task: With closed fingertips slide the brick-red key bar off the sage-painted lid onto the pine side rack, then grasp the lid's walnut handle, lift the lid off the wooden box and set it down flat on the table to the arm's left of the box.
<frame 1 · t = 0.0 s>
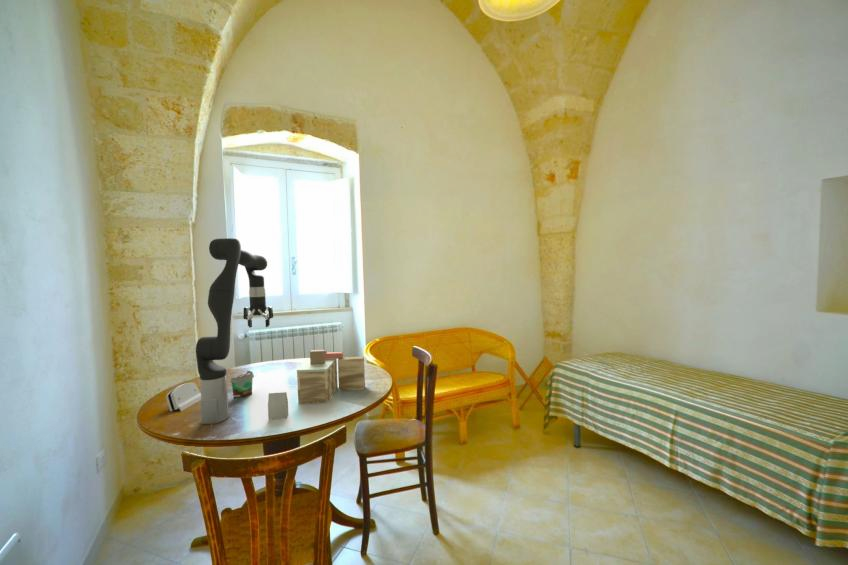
hand: (258, 327, 194), 29 cm above the table, fingers open, 8 cm apart
wooden box: (319, 395, 175), on the table
key bar: (330, 354, 182), point 17 cm above the table, slide at 0.0 cm
lid: (317, 365, 175), point 14 cm above the table, touching wooden box
hinge: (185, 404, 168), on the table
tea box: (278, 417, 151), on the table
food container: (246, 395, 178), on the table
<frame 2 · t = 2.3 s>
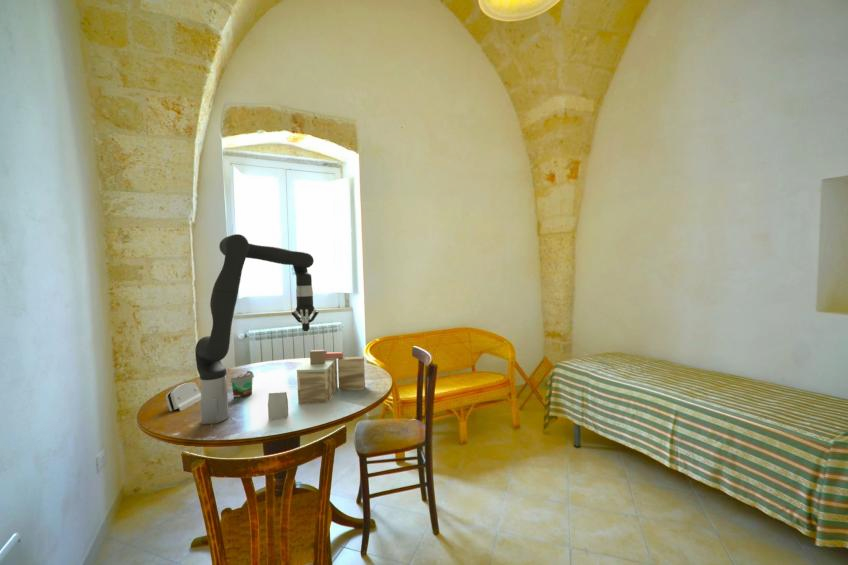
hand: (306, 330, 181), 29 cm above the table, fingers closed
nothing on the table moved.
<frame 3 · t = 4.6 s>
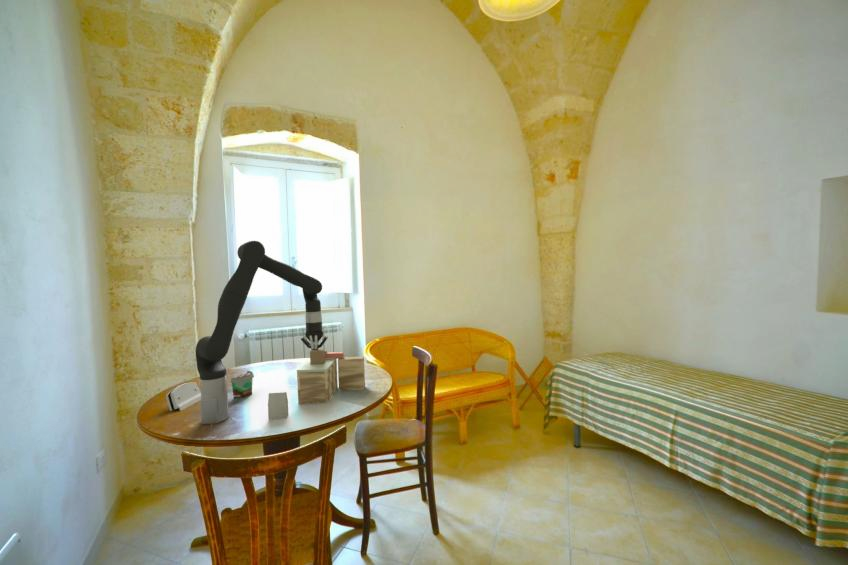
hand: (315, 356, 182), 16 cm above the table, fingers closed
key bar: (330, 354, 182), point 17 cm above the table, slide at 0.4 cm, touching gripper
everything else where it was.
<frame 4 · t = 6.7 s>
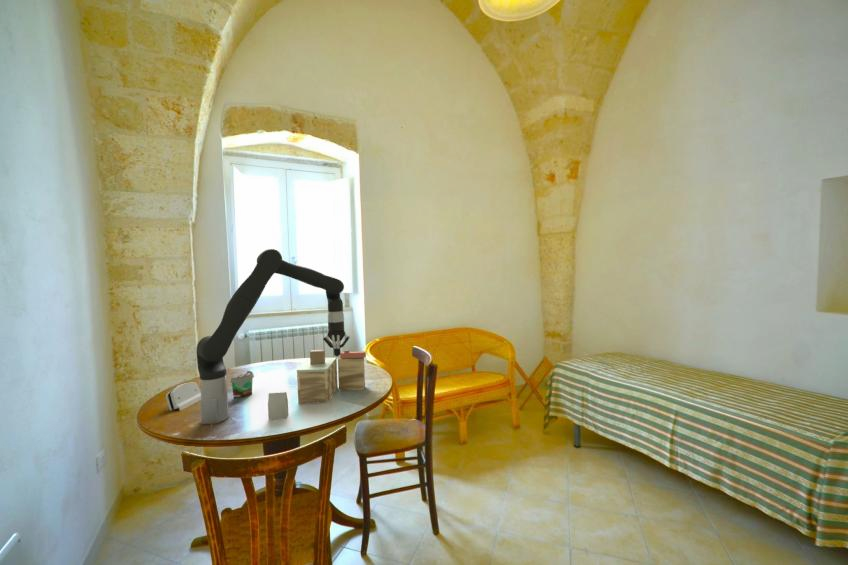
hand: (337, 355, 182), 16 cm above the table, fingers closed
key bar: (353, 353, 182), point 17 cm above the table, slide at 11.1 cm, touching gripper
everything else where it was.
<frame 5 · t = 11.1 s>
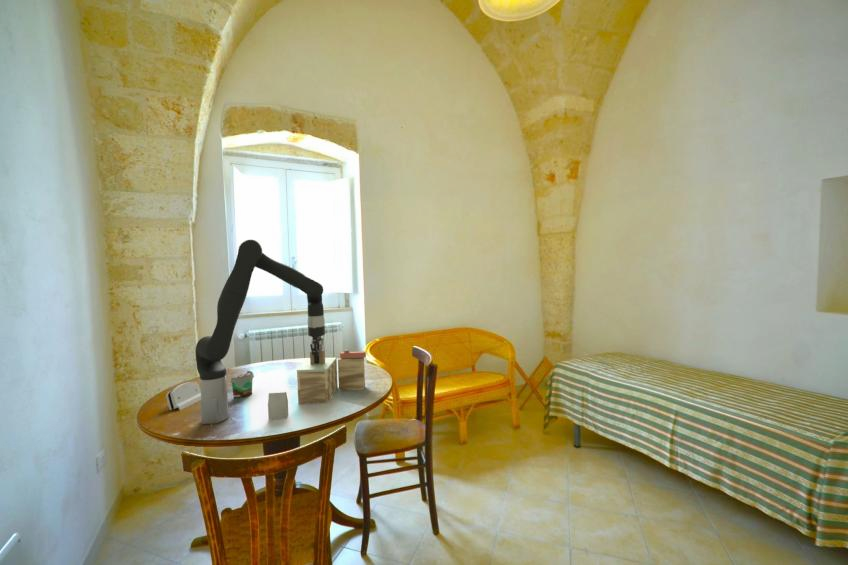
hand: (317, 362, 174), 16 cm above the table, fingers closed on lid, 3 cm apart
key bar: (353, 353, 182), point 17 cm above the table, slide at 11.1 cm
lid: (317, 365, 175), point 14 cm above the table, touching gripper, wooden box
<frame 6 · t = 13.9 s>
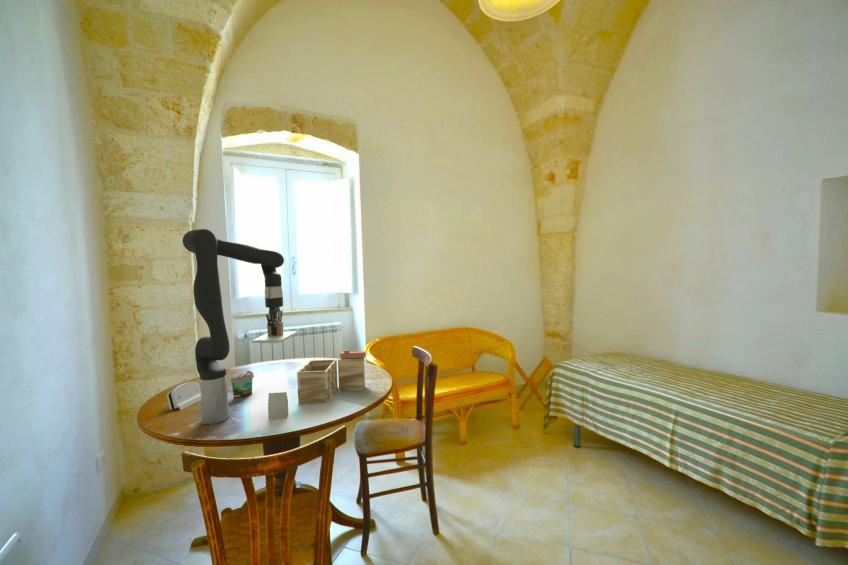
hand: (275, 334, 171), 30 cm above the table, fingers closed on lid, 3 cm apart
lid: (275, 337, 171), point 28 cm above the table, touching gripper
when the fingers open (4 cm above the table, at t = 17.0 s): lid drops 2 cm, on the table.
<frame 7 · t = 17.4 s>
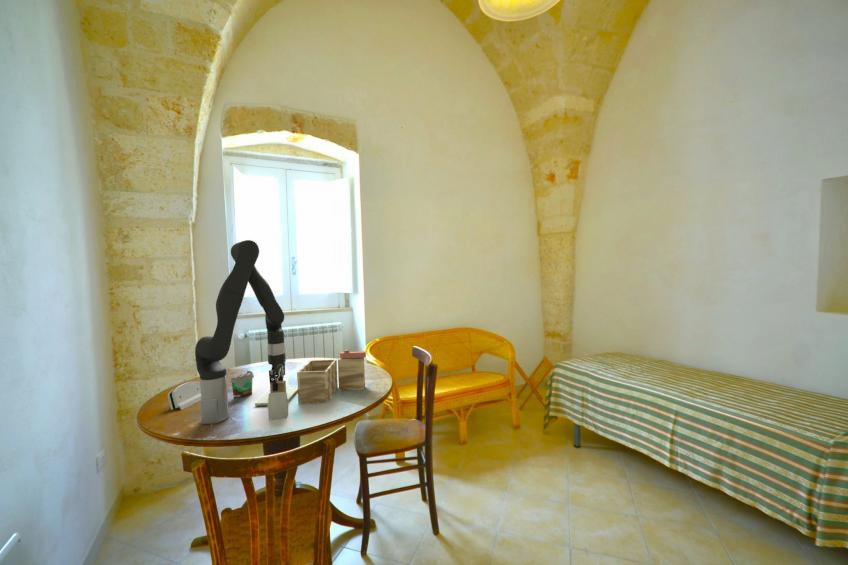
hand: (278, 388, 173), 4 cm above the table, fingers open, 6 cm apart
lid: (278, 396, 173), on the table
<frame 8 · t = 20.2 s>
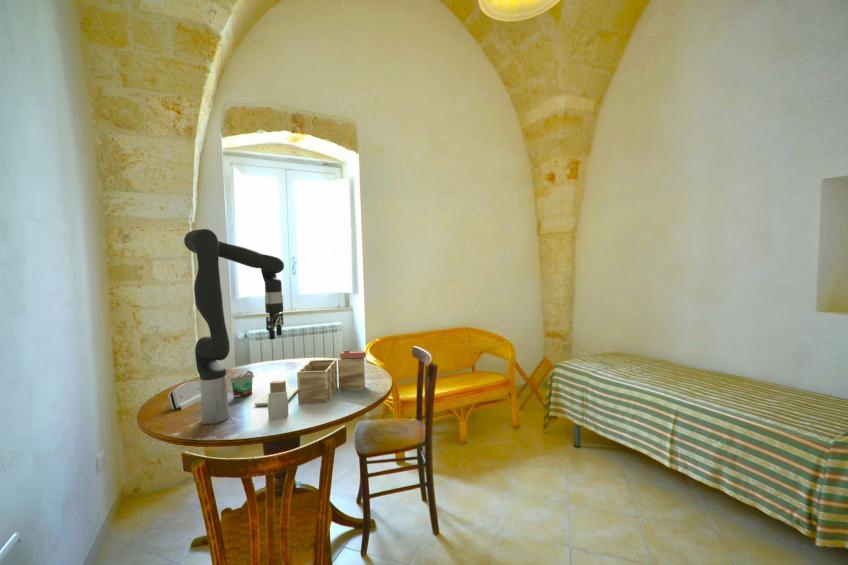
hand: (275, 337, 171), 28 cm above the table, fingers open, 8 cm apart
at the end: key bar slide at 11.1 cm; lid inside the target area (0.1 cm from its centre), point 0.5 cm above the table; lid tilted 0° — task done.
